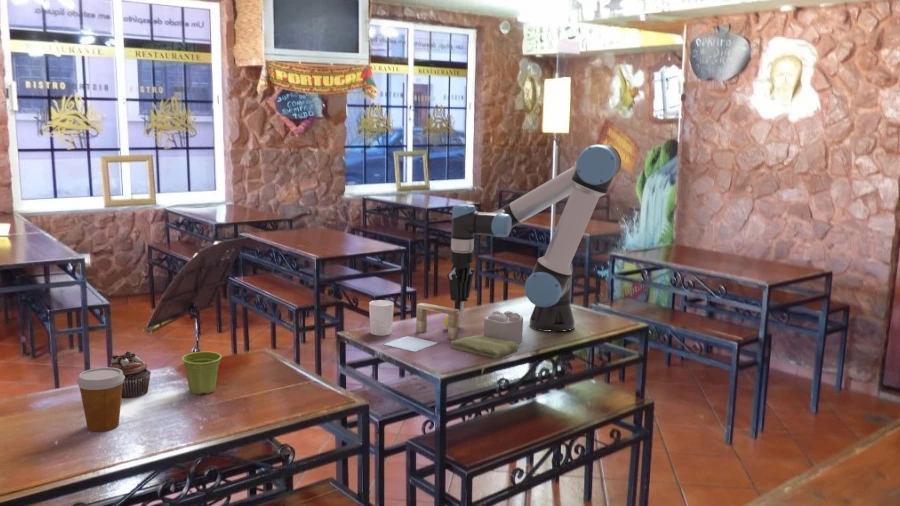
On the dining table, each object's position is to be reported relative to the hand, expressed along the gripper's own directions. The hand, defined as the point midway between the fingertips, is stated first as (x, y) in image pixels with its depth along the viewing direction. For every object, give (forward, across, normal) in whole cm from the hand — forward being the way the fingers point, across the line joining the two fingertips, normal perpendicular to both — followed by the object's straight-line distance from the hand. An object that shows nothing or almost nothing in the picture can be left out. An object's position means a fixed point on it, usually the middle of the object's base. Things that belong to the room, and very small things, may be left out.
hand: (459, 320), depth 262 cm
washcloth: (+3, +17, +21) cm, 27 cm away
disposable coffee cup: (+3, +122, -10) cm, 122 cm away
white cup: (+3, +24, -14) cm, 28 cm away
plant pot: (+3, +94, -13) cm, 95 cm away
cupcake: (+3, +106, -25) cm, 109 cm away
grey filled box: (+2, +3, +20) cm, 20 cm away
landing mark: (+2, +27, +1) cm, 28 cm away
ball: (-1, +4, 0) cm, 5 cm away
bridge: (+2, +13, +1) cm, 14 cm away
